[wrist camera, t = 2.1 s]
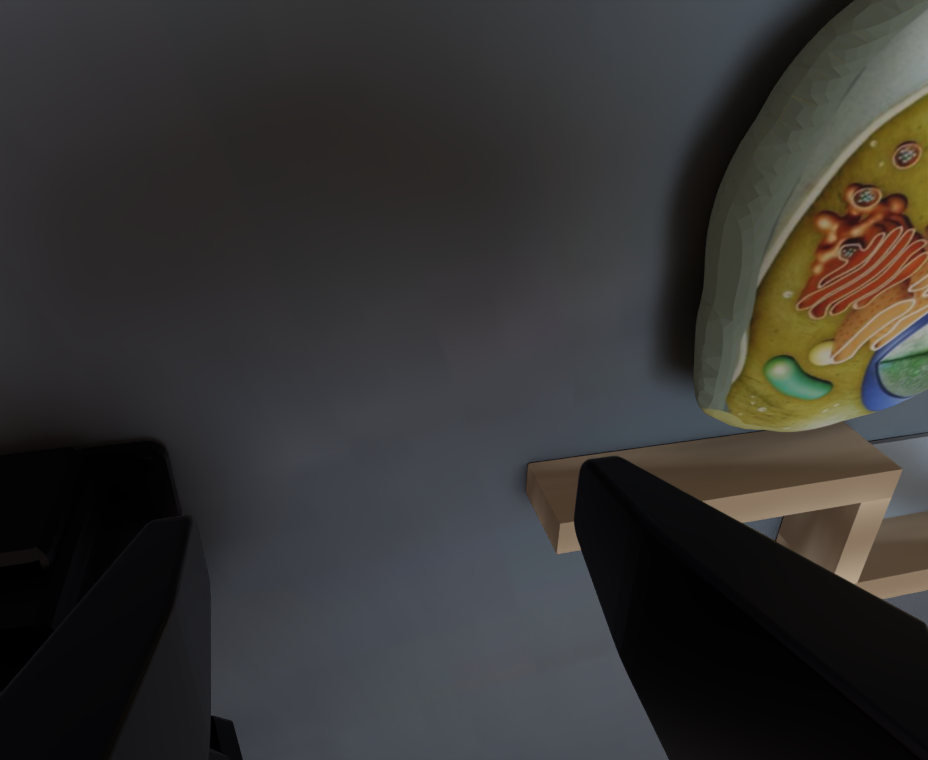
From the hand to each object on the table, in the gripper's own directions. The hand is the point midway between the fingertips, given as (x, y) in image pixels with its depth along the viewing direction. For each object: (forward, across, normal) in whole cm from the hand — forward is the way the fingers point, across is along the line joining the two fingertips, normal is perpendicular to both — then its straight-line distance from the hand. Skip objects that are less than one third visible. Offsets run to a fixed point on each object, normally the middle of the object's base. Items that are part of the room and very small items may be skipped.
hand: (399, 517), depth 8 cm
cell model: (+12, -16, 0) cm, 20 cm away
